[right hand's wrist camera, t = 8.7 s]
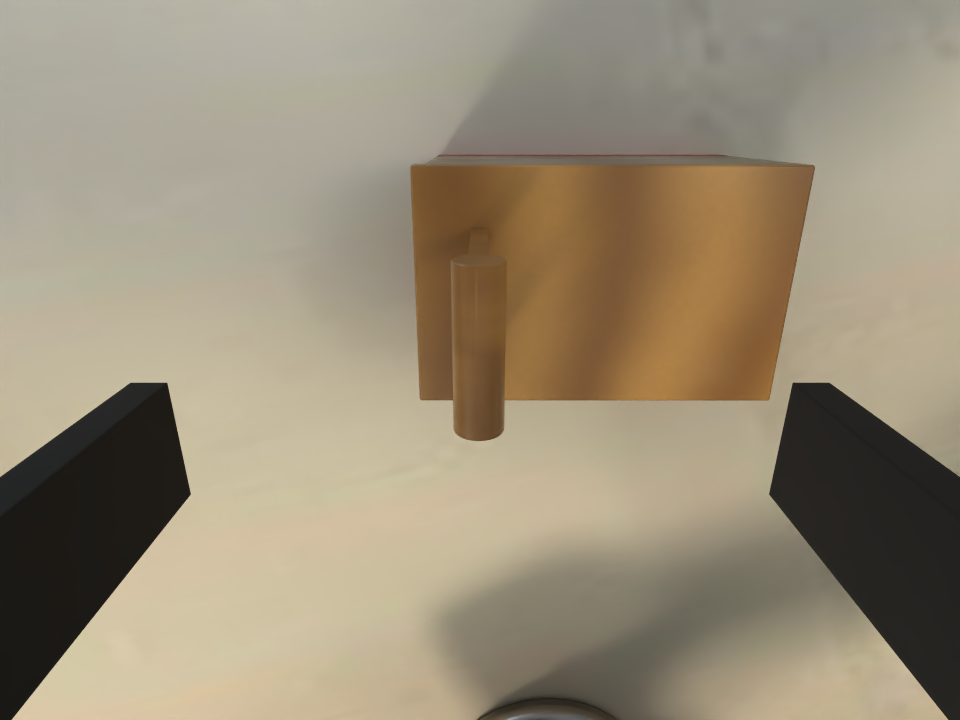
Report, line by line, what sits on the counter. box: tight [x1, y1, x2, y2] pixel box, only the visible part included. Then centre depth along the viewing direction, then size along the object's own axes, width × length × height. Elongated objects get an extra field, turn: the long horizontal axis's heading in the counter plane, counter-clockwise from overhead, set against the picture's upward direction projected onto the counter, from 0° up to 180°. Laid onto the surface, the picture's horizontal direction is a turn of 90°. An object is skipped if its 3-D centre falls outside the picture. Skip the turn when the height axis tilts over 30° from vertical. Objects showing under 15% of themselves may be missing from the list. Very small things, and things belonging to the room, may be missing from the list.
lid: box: [410, 164, 815, 441], centre depth 21 cm, size 16×10×8 cm, turn 90°
